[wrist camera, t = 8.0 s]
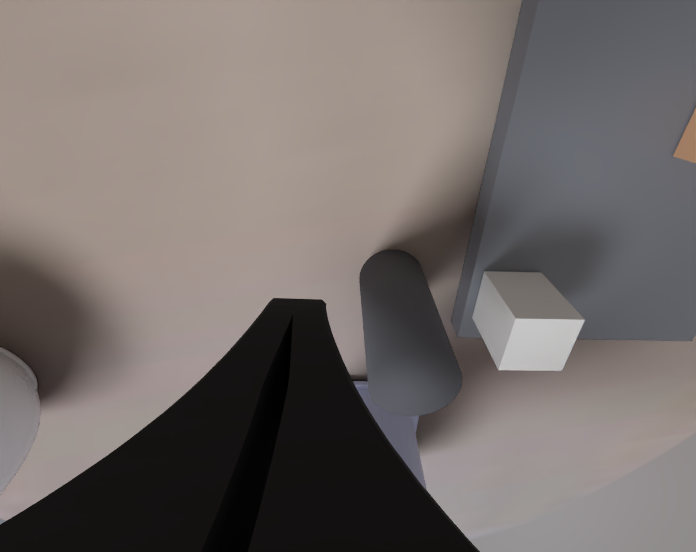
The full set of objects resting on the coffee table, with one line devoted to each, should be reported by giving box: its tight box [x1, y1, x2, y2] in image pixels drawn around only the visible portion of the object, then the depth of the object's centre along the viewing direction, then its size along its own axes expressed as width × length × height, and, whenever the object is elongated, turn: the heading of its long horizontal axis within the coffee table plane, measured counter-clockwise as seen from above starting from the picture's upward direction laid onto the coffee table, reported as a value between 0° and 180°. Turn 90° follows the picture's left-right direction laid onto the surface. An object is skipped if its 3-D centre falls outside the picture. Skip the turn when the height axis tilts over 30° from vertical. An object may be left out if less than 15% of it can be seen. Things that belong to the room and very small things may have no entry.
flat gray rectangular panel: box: [451, 0, 696, 341], centre depth 18 cm, size 16×14×2 cm
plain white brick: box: [472, 271, 585, 371], centre depth 18 cm, size 3×3×4 cm
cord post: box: [360, 250, 462, 416], centre depth 18 cm, size 4×4×8 cm
